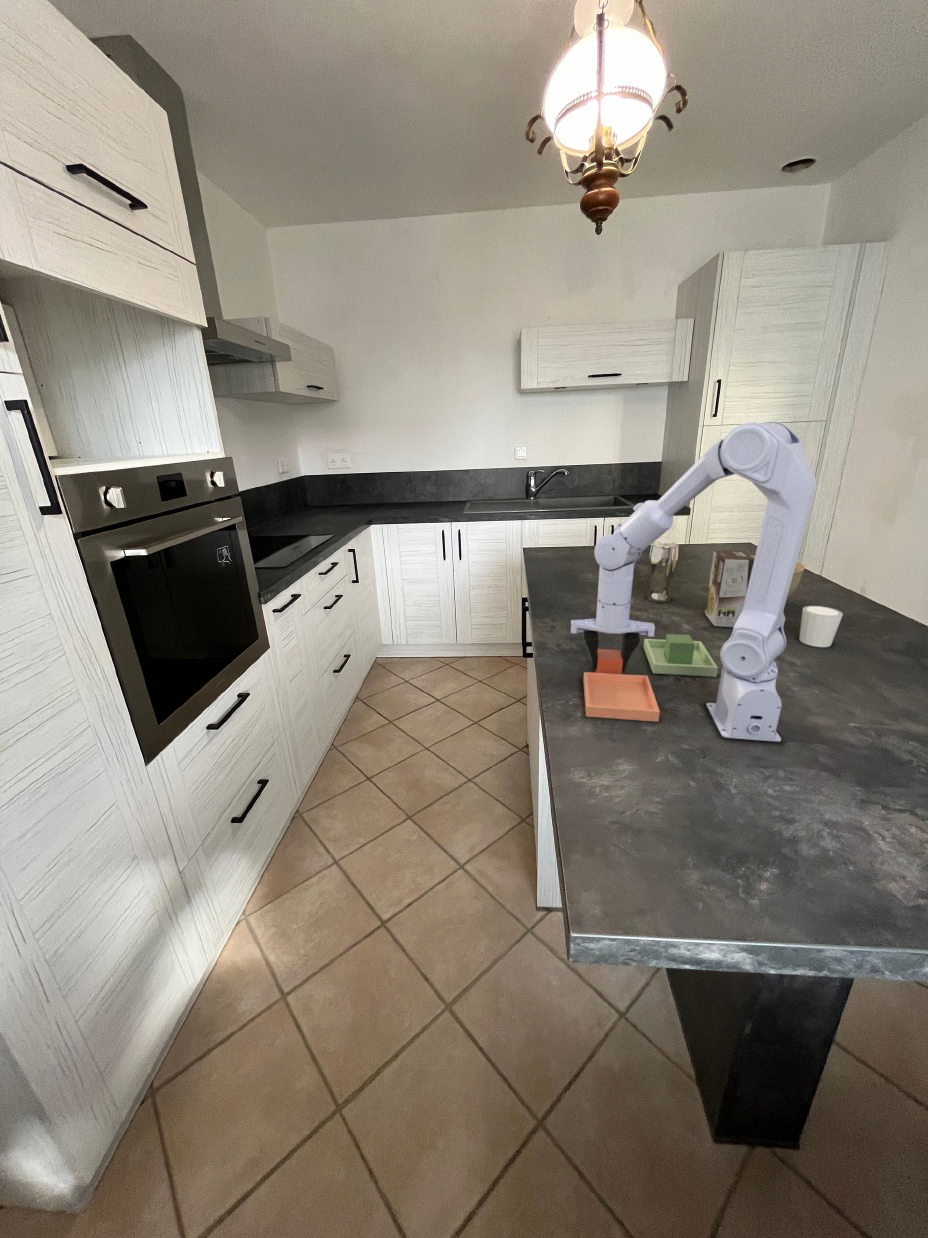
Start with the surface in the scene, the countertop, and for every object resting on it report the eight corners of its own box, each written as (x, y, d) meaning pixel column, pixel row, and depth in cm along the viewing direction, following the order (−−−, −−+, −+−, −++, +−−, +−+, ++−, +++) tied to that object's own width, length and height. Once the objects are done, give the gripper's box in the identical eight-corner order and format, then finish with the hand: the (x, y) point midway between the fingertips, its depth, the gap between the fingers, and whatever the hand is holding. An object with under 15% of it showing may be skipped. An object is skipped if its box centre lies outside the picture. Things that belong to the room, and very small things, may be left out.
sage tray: (716, 676, 90) (718, 667, 89) (652, 673, 92) (653, 664, 92) (699, 649, 101) (701, 641, 101) (643, 647, 103) (644, 638, 103)
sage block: (691, 664, 94) (695, 643, 93) (667, 663, 95) (670, 642, 93) (686, 654, 98) (689, 634, 97) (663, 653, 99) (666, 633, 97)
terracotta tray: (658, 721, 77) (659, 711, 76) (585, 716, 79) (586, 706, 78) (646, 684, 88) (647, 675, 87) (583, 681, 90) (583, 672, 90)
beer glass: (639, 597, 133) (644, 543, 128) (658, 593, 136) (664, 540, 131) (658, 604, 128) (665, 548, 122) (678, 600, 130) (685, 544, 125)
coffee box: (744, 628, 111) (756, 559, 105) (713, 626, 112) (724, 558, 107) (731, 614, 119) (743, 549, 114) (703, 613, 121) (713, 549, 115)
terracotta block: (621, 681, 90) (622, 660, 88) (596, 680, 90) (597, 658, 89) (618, 670, 94) (620, 650, 92) (595, 669, 94) (596, 648, 93)
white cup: (797, 645, 102) (804, 613, 99) (794, 633, 107) (801, 603, 105) (837, 650, 99) (846, 618, 96) (832, 638, 104) (840, 607, 102)
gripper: (653, 594, 89) (645, 661, 94) (572, 592, 92) (568, 657, 97) (659, 607, 83) (651, 678, 87) (572, 604, 85) (569, 673, 90)
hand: (608, 668), depth 92 cm, fingers closed on terracotta block, 4 cm apart
